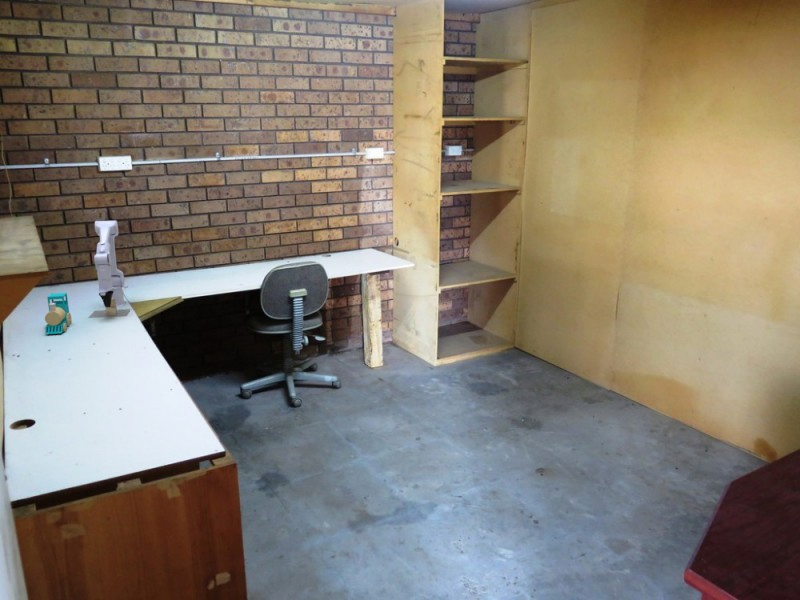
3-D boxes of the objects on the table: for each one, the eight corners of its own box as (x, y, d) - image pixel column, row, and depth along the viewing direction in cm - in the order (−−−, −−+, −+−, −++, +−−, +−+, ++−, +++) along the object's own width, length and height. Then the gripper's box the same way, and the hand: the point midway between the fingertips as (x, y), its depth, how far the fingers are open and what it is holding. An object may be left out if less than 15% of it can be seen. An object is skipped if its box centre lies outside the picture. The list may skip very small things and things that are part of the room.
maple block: (108, 313, 300) (106, 298, 298) (117, 313, 300) (115, 298, 299) (106, 315, 296) (104, 300, 294) (115, 315, 297) (113, 300, 295)
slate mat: (94, 311, 304) (94, 310, 304) (131, 310, 308) (131, 309, 308) (88, 318, 292) (88, 317, 292) (126, 317, 296) (126, 316, 296)
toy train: (43, 336, 266) (38, 302, 262) (53, 325, 282) (49, 293, 278) (63, 335, 268) (59, 301, 264) (72, 324, 284) (68, 292, 280)
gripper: (110, 281, 282) (113, 310, 285) (117, 275, 296) (120, 302, 299) (93, 282, 280) (97, 311, 284) (101, 275, 294) (104, 303, 297)
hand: (107, 306), depth 291 cm, fingers closed
